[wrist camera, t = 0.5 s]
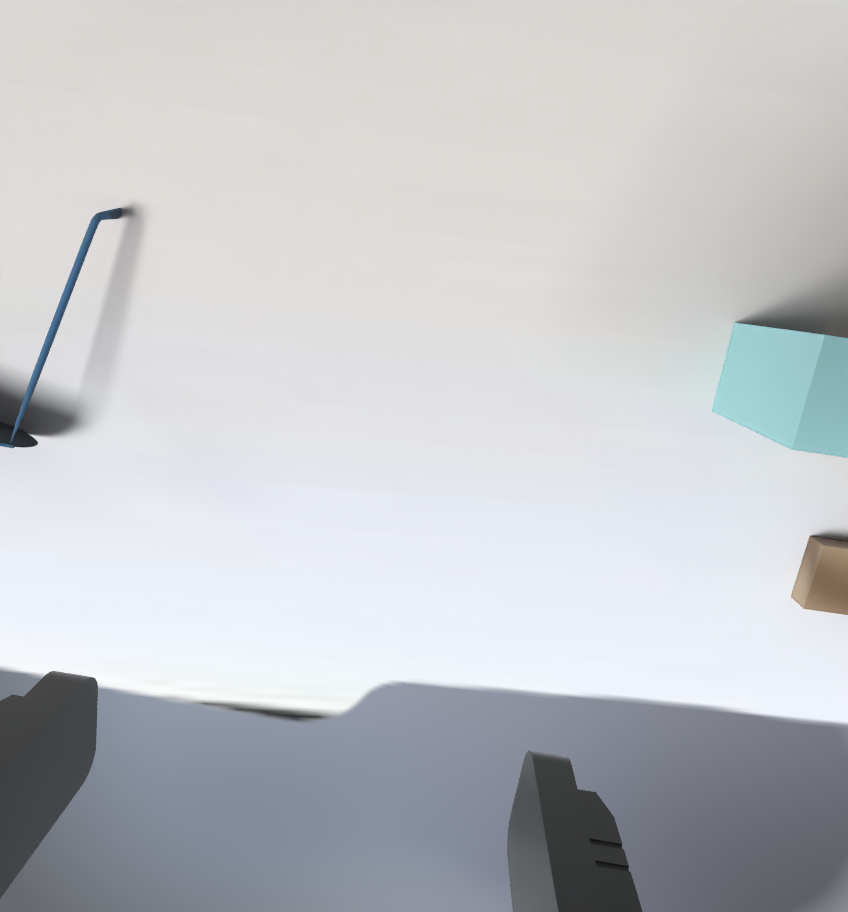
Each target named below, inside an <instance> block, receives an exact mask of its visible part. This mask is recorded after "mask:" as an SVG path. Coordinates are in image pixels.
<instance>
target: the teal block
mask: <svg viewBox="0 0 848 912" xmlns="http://www.w3.org/2000/svg"><path fill="white" fill-rule="evenodd" d="M712 411H713V412H715V413H717V414H719V415H721V416H723V417H725V418H727V419H729V420H731V421H733V422H735V423H738V424H740V425H742V426H744V427H746V428H748V429H750V430H752V431H754V432H756V433H758V434H760V435H763V436H765V437H767V438H769V439H771V440H773V441H775V442H777V443H779V444H781V445H783V446H785V447H787V448H790V449H792V450H799V451H806V452H813V453H819V454H826V455H833V456H840V457H847V458H848V338H843V337H837V336H830V335H823V334H816V333H808V332H801V331H793V330H786V329H778V328H771V327H764V326H756V325H749V324H741V323H734V327H733V331H732V334H731V338H730V342H729V346H728V350H727V354H726V358H725V361H724V365H723V369H722V373H721V377H720V381H719V385H718V389H717V392H716V396H715V400H714V404H713V408H712Z"/></svg>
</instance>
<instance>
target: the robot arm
mask: <svg viewBox="0 0 848 912" xmlns="http://www.w3.org/2000/svg"><path fill="white" fill-rule="evenodd" d="M97 697H98V685H97V681H96V679H95V678H93V677H87V676H81V675H75V674H69V673H63V672H57V671H52V672H49V673H48V674H47V675H45V676H44V677H43V678H42V679H41V680H40V681H39V682H38V683H37V684H36V685H35V686H34V687H33V688H32V689H31V690H30V691H29V692H28V693H27V694H26V695H25V696H24V697H22V696H16V695H11V696H9V697H7V698H6V699H4V700H2V701H0V898H1V897H2V895H3V894H4V893H5V891H6V890H7V889H8V887H9V886H10V884H11V883H12V881H13V880H14V879H15V877H16V876H17V875H18V873H19V872H20V870H21V869H22V868H23V866H24V865H25V864H26V862H27V861H28V859H29V858H30V857H31V855H32V854H33V852H34V851H35V850H36V848H37V847H38V846H39V844H40V843H41V841H42V840H43V839H44V837H45V836H46V834H47V833H48V832H49V830H50V829H51V828H52V826H53V825H54V823H55V822H56V821H57V819H58V818H59V816H60V815H61V814H62V812H63V811H64V810H65V808H66V807H67V805H68V804H69V803H70V801H71V800H72V798H73V797H74V796H75V794H76V793H77V791H78V790H79V789H80V787H81V786H82V784H83V783H84V781H85V779H86V777H87V775H88V773H89V771H90V768H91V766H92V763H93V759H94V755H95V750H96V728H97ZM507 841H508V842H507V854H508V866H509V876H510V887H511V896H512V907H513V912H642V909H641V905H640V902H639V899H638V895H637V892H636V889H635V885H634V882H633V879H632V875H631V872H629V870H628V868H629V865H628V862H627V859H626V855H625V852H624V850H623V849H622V842H621V839H620V836H619V832H618V829H617V825H616V822H615V819H614V816H613V815H612V814H611V812H610V811H609V810H608V808H607V807H606V806H605V804H604V803H603V802H602V800H601V799H600V797H599V796H598V795H597V793H596V792H591V791H585V790H578V789H577V786H576V782H575V777H574V773H573V769H572V765H571V762H570V759H569V758H568V757H564V756H558V755H552V754H546V753H539V752H534V751H528V752H527V753H526V755H525V758H524V762H523V766H522V771H521V774H520V778H519V783H518V787H517V791H516V795H515V799H514V803H513V807H512V811H511V816H510V821H509V828H508V840H507Z"/></svg>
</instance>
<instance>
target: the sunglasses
mask: <svg viewBox="0 0 848 912" xmlns="http://www.w3.org/2000/svg"><path fill="white" fill-rule="evenodd" d="M120 214H121V209H120V208H117V209H113V210H108V211H104V212H100V213H97V214H96V215H95V216H94V217H93V218H92V220H91V222H90V224H89V227H88V229H87V232H86V234H85V237H84V239H83V242H82V245H81V247H80V250H79V252H78V255H77V258H76V260H75V263H74V266H73V268H72V271H71V273H70V276H69V279H68V281H67V284H66V286H65V289H64V292H63V294H62V297H61V300H60V302H59V305H58V308H57V310H56V313H55V315H54V318H53V321H52V323H51V326H50V329H49V331H48V334H47V337H46V339H45V342H44V345H43V347H42V350H41V353H40V356H39V358H38V361H37V364H36V366H35V369H34V372H33V374H32V377H31V380H30V383H29V385H28V388H27V391H26V394H25V397H24V399H23V402H22V405H21V408H20V411H19V414H18V417H17V420H16V423H15V427H13V426H10V425H7V424H5V423H2V422H0V446H3V447H10V448H14V447H33V446H36V445H37V444H38V442H37V441H36V440H35V439H34V438H33V437H32V436H30V435H29V434H27V433H26V432H24V431H22V430H20V429H18V427H19V425H20V423H21V420H22V418H23V416H24V414H25V411H26V409H27V407H28V404H29V402H30V399H31V397H32V394H33V392H34V389H35V387H36V384H37V381H38V379H39V376H40V374H41V371H42V369H43V366H44V364H45V361H46V358H47V356H48V353H49V351H50V348H51V346H52V343H53V340H54V338H55V335H56V333H57V330H58V327H59V325H60V322H61V320H62V317H63V314H64V312H65V309H66V307H67V304H68V301H69V299H70V296H71V294H72V291H73V288H74V286H75V283H76V280H77V278H78V275H79V273H80V270H81V267H82V265H83V262H84V260H85V257H86V254H87V252H88V249H89V246H90V244H91V241H92V239H93V236H94V234H95V231H96V229H97V226H98V224H99V222H100V221H101V220H106V219H118V218H119V217H120Z"/></svg>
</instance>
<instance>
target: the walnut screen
mask: <svg viewBox="0 0 848 912" xmlns="http://www.w3.org/2000/svg"><path fill="white" fill-rule="evenodd" d="M791 597H792V598H793V599H794V600H795V601H796V602H797V603H798V604H799V605H800V606H801V607H803V608H804V609H810V610H817V611H824V612H831V613H838V614H844V615H848V542H847V541H840V540H833V539H826V538H819V537H813V536H810V537H809V541H808V544H807V547H806V550H805V553H804V557H803V560H802V563H801V566H800V569H799V573H798V576H797V579H796V582H795V585H794V589H793V592H792V595H791Z"/></svg>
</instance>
